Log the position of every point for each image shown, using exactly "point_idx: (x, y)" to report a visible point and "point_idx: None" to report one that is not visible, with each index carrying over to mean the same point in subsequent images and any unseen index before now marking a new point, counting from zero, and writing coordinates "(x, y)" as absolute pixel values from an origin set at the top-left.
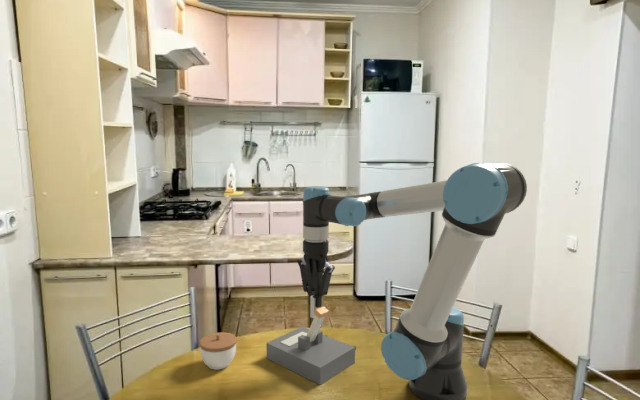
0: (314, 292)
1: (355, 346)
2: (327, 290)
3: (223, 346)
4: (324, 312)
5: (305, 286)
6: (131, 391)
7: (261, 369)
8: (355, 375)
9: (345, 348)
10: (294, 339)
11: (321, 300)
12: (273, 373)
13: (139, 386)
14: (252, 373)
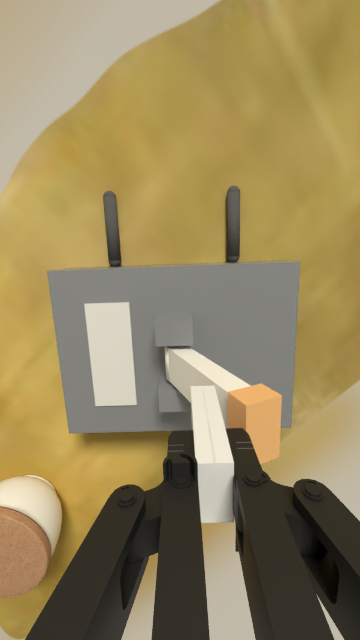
0: (241, 555)
1: (237, 188)
2: (355, 525)
3: (41, 569)
4: (278, 429)
5: (133, 594)
6: (18, 634)
7: (121, 446)
8: (319, 312)
9: (279, 292)
10: (112, 365)
11: (256, 454)
12: (156, 439)
13: (10, 621)
14: (121, 469)
